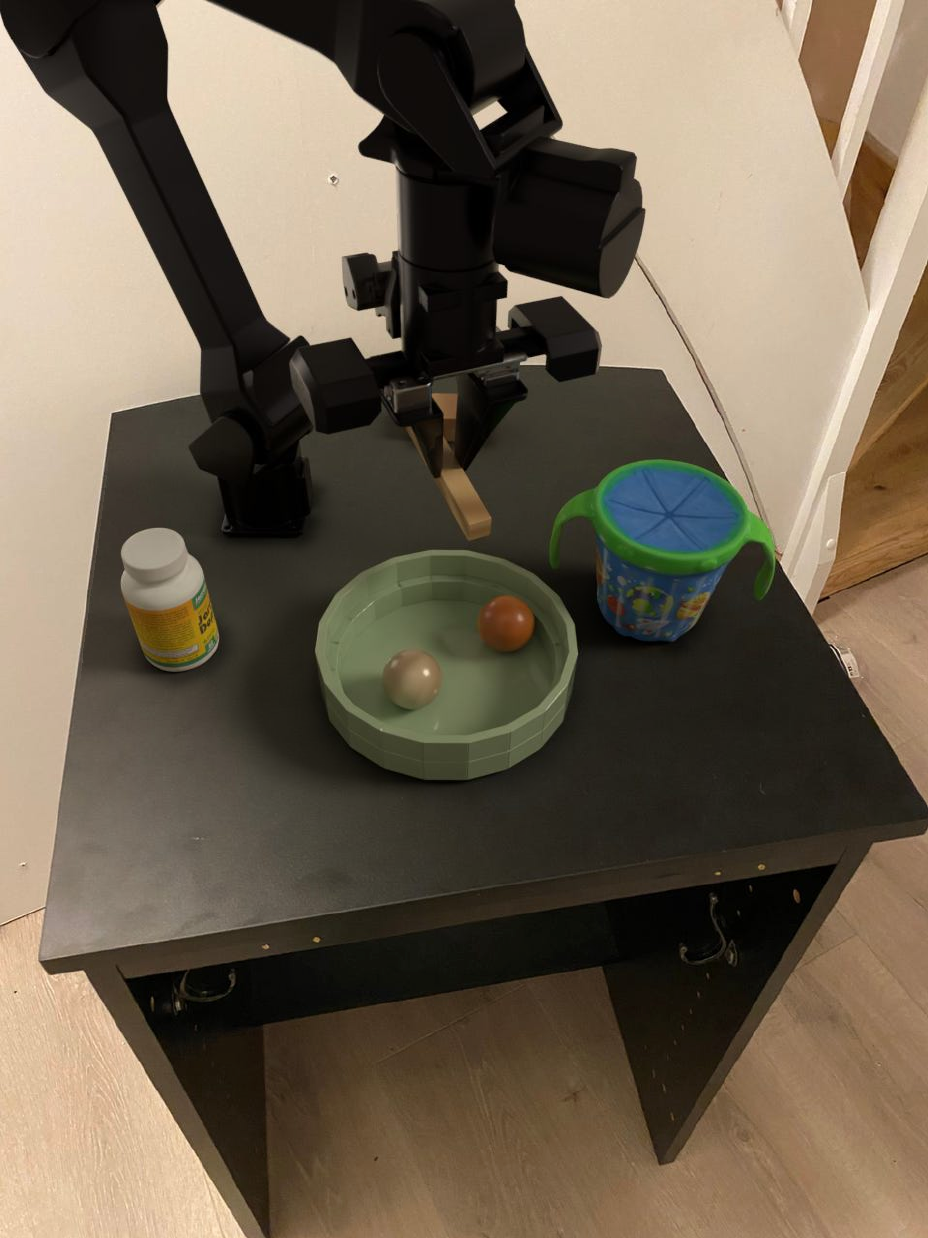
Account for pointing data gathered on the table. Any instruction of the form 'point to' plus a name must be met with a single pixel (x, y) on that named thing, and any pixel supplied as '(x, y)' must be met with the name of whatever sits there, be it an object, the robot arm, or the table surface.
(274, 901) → the table surface
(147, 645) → the supplement bottle
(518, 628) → the ball tangerine
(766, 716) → the table surface
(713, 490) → the snack cup
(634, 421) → the table surface
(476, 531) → the wooden bar
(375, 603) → the bowl
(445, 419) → the block
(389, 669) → the ball taupe
